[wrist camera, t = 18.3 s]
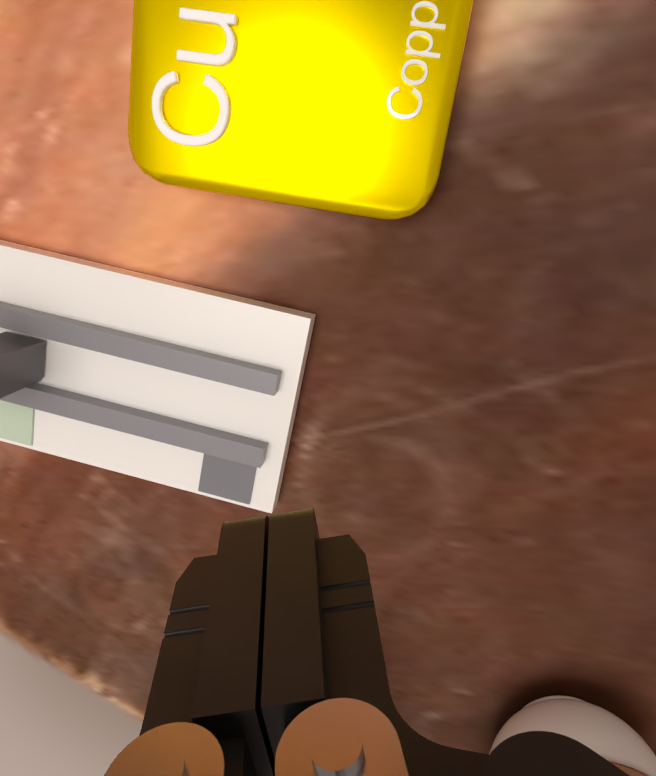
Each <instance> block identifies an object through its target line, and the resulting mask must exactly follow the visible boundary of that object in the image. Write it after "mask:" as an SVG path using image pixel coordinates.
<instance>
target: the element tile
mask: <svg viewBox="0 0 656 776" xmlns="http://www.w3.org/2000/svg"><path fill="white" fill-rule="evenodd" d="M473 1H474V0H134V8H133V30H132V51H131V73H130V95H129V116H128V136H129V145H130V148H131V151H132V155H133V158H134V160H135V162H136V163H137V164H138V166H139V167H140V168H141V170H142V171H143V172H144V173H145V174H147V175H148V176H150V177H151V178H153V179H154V180H156V181H158V182H160V183H163V184H165V185H171V186H178V187H184V188H190V189H196V190H202V191H209V192H215V193H221V194H227V195H233V196H239V197H246V198H252V199H258V200H264V201H270V202H276V203H283V204H289V205H295V206H301V207H307V208H313V209H320V210H326V211H332V212H338V213H344V214H351V215H357V216H363V217H369V218H375V219H381V220H397V219H401V218H404V217H408V216H412V215H414V214H415V213H417V212H418V211H420V210H421V209H422V208H424V207H425V206H426V204H427V203H428V201H429V199H430V198H431V196H432V195H433V193H434V190H435V187H436V184H437V182H438V179H439V175H440V170H441V165H442V160H443V154H444V149H445V144H446V139H447V134H448V129H449V124H450V119H451V114H452V109H453V103H454V98H455V93H456V88H457V83H458V78H459V73H460V68H461V63H462V58H463V52H464V47H465V42H466V37H467V32H468V27H469V22H470V17H471V12H472V7H473Z"/></svg>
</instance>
